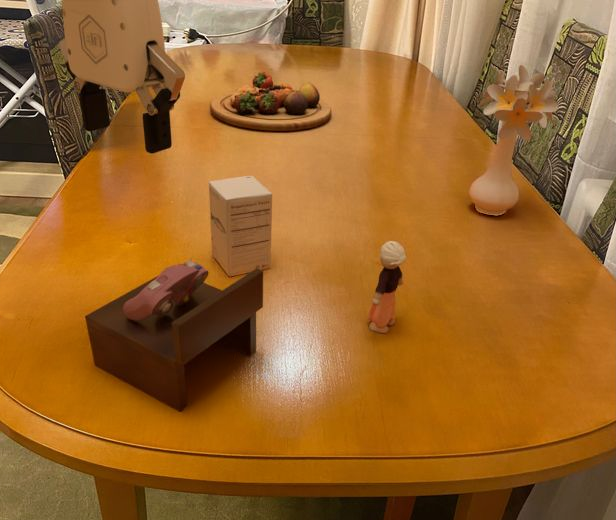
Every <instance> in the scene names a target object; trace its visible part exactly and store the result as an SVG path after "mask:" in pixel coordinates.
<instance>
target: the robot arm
mask: <svg viewBox="0 0 616 520" xmlns="http://www.w3.org/2000/svg"><path fill="white" fill-rule="evenodd" d="M61 7H62V8H61V9H62V21H63V31H64V37H63V38H62V39H61V40H59V41H58V47H59V50H60V53H61V54H62V57H63V60H64V61H65V66H66V70H67V73H68V74H69V75H70V77H71V78H72V80H73V83H72V84H73V89H74V90H75V92H77V93H78V99H79V106H80V112H81V119H82V125H83V126H82V127H83V130H84V131H86V132H88V133H89V132H94V131H97V130H101V129H105V128H109V127H110V125H111V120H110V119H111V118H110V113H109V111H110V110H109V104H108V97H107V95H108V94H107V91H106V90H107V89H106V88H109V89H112V90H116V91H119V92H122V93H132V92H133V93H134V92H135V93H136V95H137V96H138V98H139V100H140V102H141V103H142V105H143V107H144V108H145V111H146V112H144V113H142V126H143V137H144V148H145V151H146V153H149V154H151V155H153V154H156V153H160V152H163V151H165V150H169V149H171V147H172V145H173V141H172V129H171V114H170V113H171V111H173V110H174V109H175V104H176V103H177V102H178V100H179V99H180V98H181V92H182V91H181V90H182V88H183V85H184V82H185V78H186V73H185V70H184V69H182V67H180V66H179V65H178V64H177V62H176V61H174V60H173V59H172V58H171V56H170V55H168V54H167V53H166V47H165V37H164V36H165V35H164V29H163V22H162V15H161V8H160V3H159V0H61ZM102 87H106V88H102ZM152 90H153V92H154V93H155V95H156V96H155V97H153V95H152V93H151V92H150V91H152Z"/></svg>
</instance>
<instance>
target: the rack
mask: <svg viewBox="0 0 616 520" xmlns="http://www.w3.org/2000/svg"><path fill="white" fill-rule="evenodd" d="M158 276H159V275H157V276H155V277H153V278H151V279H150V280H148V281H146V282H144V283H142V284H141V285H139V286H136V287H135V288H133V289H131V290H130V291H128V292H126V293H123V294H122V295H121V296H119V297H117V298H115V299H113V300H111V301H109V302H108V303H106V304H104V305H103V306H101V307H99V308H96V309H95V310H93V311H91V312H90V313H88V314H86V315H85V316H84V318H85V324H86V329H87V334H88V339H89V343H90V348H91V353H92V357H93V363H94V366H96V367H98V368H100V369H102V370H103V371H105V372H106V373H108V374H110V375H113V376H114V377H116V378H118V379H119V380H122V381H123V382H125V383H127V384H129V385H131V386H132V387H134V388H136V389H138V390H140V391H142V392H144V393H145V394H148V396H150V397H153V398H154V399H156V400H158V401H160V402H161V403H163V404H165V405H167V406H169V407H171V408H173V409H175V410H176V411H177V412H182V411H183V410H185V409H186V408H188V398H187V385H186V377H185V375H186V374H185V366H184V365H186V364H187V363H188V362H190V361H191V360H193V359H194V358H196V357H197V356H198V355H200V354H202V352H204V351H205V350H206V349H208V348H209V347H211V346H212V345H213V344H215V343H216V342H219V343H222V344H224V345H226V346H227V347H230V348H232V349H234V350H236V351H238V352H241V353H243V354H245V355H247V356H249V357H252V356H253V355H254V354H256V352H257V312H258V311H260V310H261V309H262V308H264V271H263V270H259V269H255V270H254V271H252V272H250V273H246V274H245V275H244V276H243V277H241V278H240V279H238V280H236V281H235V282H233V283H231V284H230V285H229V286H226V287H225V288H223V289H220V288H218V287H215V286H213V285H210V284H208V283H205V282H203V283H202V285H201V286H199V287H198V288H197V289H196V290H195V291H194V292H193V294H192V295H191V296H190V298H189V300H188V301H187V302H186V303H184V304H182V305H178V304H176V303H175V302H174V301H173V300H172V302H173V307H172V309H171V310H170V311H169V312H168V313H167V314H166V315H165V316H164V317H161V318H160V317H158V316H157V315H152V316H150V317H148V318H146V319H144V320H141V321H134V320H130V319H129V318H127V317H126V316H125V314H124V311H123V306H124V304H125V303H126V302H127V301H128V300H130V299H132V298H134V297H135V296H137V295H138V294H139V293H140V292H141V291H142V290H143V289H144V288H145V287H146V286H147V285H148V284H149V283H151V282H152V281H153V280H155V279H156V278H157V277H158Z"/></svg>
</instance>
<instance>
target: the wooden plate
mask: <svg viewBox="0 0 616 520" xmlns="http://www.w3.org/2000/svg"><path fill="white" fill-rule="evenodd" d="M320 95H321V94H320V92H319V90H318V89H317V87H316V86H315V84H313V83H311V82H310V81H306V82H304V83H303V84H302V85H301V86H300V87H299V89H294V88H292V86H291V85H290V84H288V83H279V84H274V81H273V78H272V75H271V74H270V73H269V72H268V71H261V72H258V74H257V75H255V74H254V75H253V79H252V84H248V83H247V84H244V85H241V86H240V87H239V88H238V89H237V90H233V91H228V92H224V93H221V94H219V95H217V96H215V97H213V99H212V100H211V101H210V104H209V110H210V112H211V114H212V115H213V116H214V117H216V118H217V119H219V120H220V121H223V122H224V123H227V124H229V125H233V126H237V127H241V128H246V129H250V130H251V129H252V130H262V131H273V132H275V131H277V132H278V131H280V132H282V131H283V132H284V131H286V132H287V131H298V130H300V131H301V130H305V129H306V130H307V129H310V128H314V127H318V126H320V125H322V124H324V123H326V122H328V120H329V119H330V118H331V116H332V108H331V106H330V105H329V104H328V102H326V101H325V100H323V99H322V98H321V96H320Z"/></svg>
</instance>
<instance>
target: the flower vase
mask: <svg viewBox="0 0 616 520" xmlns="http://www.w3.org/2000/svg"><path fill="white" fill-rule="evenodd" d="M505 75H506V69H504V70H503V69H500V70H499V72H498V74H497V76H496V78H495V82H494V84H493V83H492V84H489V85H488V86H487V88H486V90H485V92H484V93H483V94H482V99H483V98H484V99H483V100H482V101H481V102H480V103H479V104H478V105H477V108H479V107H481V106H482V105H485V104H486V103H488V102H490V103H489V104H487V105H486V107H485V108H484V109H483V111H482V113H483V115H485V116H490V115H493V116H494V117H495V119H496V120H498V121H500V122H501V126H500V127H501V128H500V129H499V130H498V135H497V137H498V141H497V144H496V149H495V152H494V155H493V158H492V161H491V163H490V165H489V166H488V168H487V169H486V171H485V172H484V173H483V174H481V175H480V176H479V177H476V179H475V180H473V182H472V183H471V185H470V186H469V189H468V197H469V199H470V201H471V202H472V203H473V204H475V207H476V208H477V209H478V210H479V211H482V212H484V213H488V214H500V213H503V212H505V211H506V210H507V211H508V210H510V209H512V208H513V207H514V206H515V205H517V203H518V201H519V200H520V190H519V186H518V185H517V183H516V181H515V180H514V178H513V174H512V172H513V171H512V161H513V156H514V152H515V151H514V150H515V147H516V142H517V138H518V136H519V138H520V139H522V140H523V141H529V140H530V139H531V137H532V132H531V128H530V125H529V123H530V124H533V123H537V122H538V123H539V125H540V126H541V128H542V129H546V128H547V127H548V120H549V122H550V123H553V113H556V112H557V111H558V110H559V103H558V102H557V101H555V97H556V96H555V95H556V93H555V90H554V89H553V90H552V88H553V85H554V82H555V76H552V79H551V80H549V79H548V80H545V78H546V76H545V73H543V72H542V71H541V72H536V73H534V74H532V76H530V77H529V72H528V69H527V67H526V66H525V65H524V64H519V66H518V76H517V75H515V74H513V75H511V76H510V77H509V78H508V79H505ZM544 80H545V81H544ZM542 83H543V84H542ZM540 85H541V87H539V86H540ZM492 100H494V101H492ZM491 101H492V102H491Z"/></svg>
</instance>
